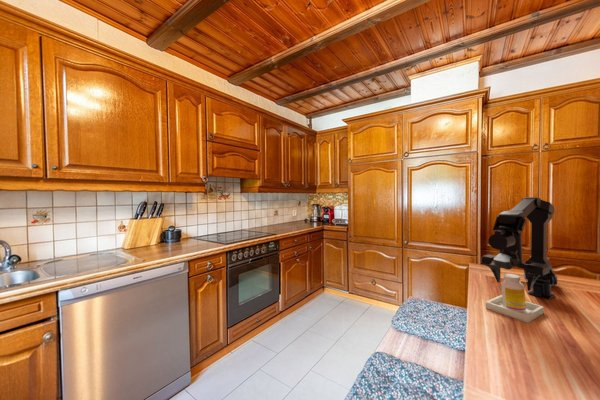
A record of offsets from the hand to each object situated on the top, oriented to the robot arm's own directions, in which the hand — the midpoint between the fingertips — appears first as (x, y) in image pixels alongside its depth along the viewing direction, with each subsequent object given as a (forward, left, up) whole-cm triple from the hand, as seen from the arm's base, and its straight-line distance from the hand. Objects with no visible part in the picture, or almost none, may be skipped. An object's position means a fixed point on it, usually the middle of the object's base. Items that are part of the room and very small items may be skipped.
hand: (513, 286), depth 88 cm
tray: (0, 0, -10) cm, 10 cm away
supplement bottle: (0, 0, -9) cm, 9 cm away
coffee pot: (-43, -7, -10) cm, 45 cm away
